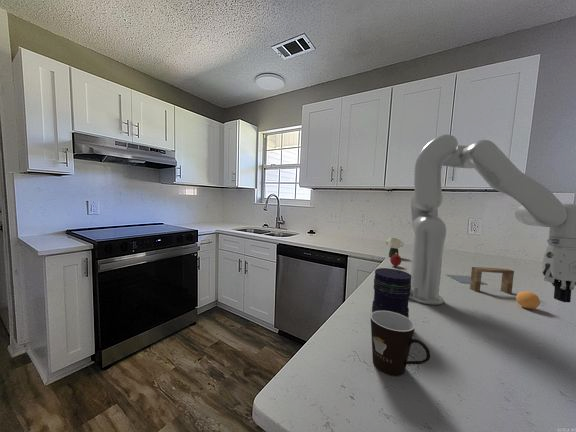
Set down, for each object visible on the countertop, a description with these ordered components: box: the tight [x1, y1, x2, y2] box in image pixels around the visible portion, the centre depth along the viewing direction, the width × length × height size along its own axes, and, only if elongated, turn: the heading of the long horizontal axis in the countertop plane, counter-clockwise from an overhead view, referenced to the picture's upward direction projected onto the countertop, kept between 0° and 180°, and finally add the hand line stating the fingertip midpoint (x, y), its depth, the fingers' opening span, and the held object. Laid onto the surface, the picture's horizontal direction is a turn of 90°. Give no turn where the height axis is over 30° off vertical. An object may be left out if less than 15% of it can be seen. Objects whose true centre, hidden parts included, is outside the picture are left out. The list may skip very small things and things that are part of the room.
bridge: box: [469, 266, 515, 294], centre depth 99 cm, size 3×15×10 cm, turn 87°
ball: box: [515, 290, 541, 310], centre depth 84 cm, size 6×6×6 cm
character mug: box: [385, 237, 404, 258], centre depth 157 cm, size 11×7×13 cm, turn 50°
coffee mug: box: [370, 311, 431, 377], centre depth 48 cm, size 12×9×10 cm
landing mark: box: [446, 274, 487, 285], centre depth 115 cm, size 12×12×1 cm
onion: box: [389, 253, 402, 268], centre depth 132 cm, size 6×6×8 cm
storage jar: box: [371, 267, 411, 319], centre depth 68 cm, size 10×10×15 cm
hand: (561, 300), depth 74 cm, fingers closed
